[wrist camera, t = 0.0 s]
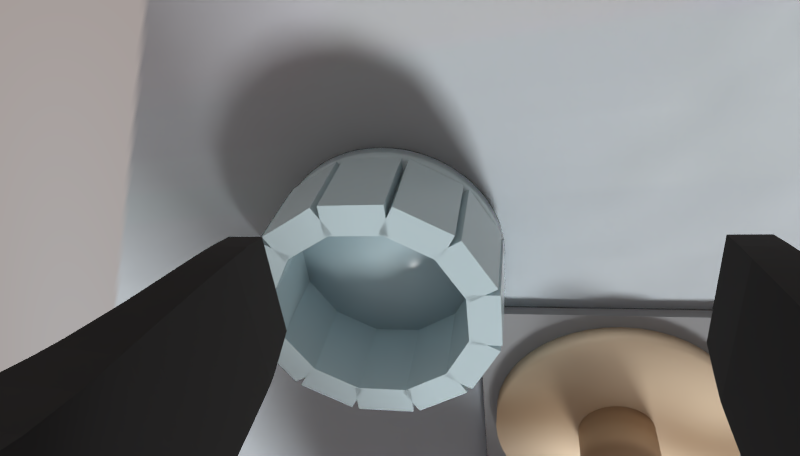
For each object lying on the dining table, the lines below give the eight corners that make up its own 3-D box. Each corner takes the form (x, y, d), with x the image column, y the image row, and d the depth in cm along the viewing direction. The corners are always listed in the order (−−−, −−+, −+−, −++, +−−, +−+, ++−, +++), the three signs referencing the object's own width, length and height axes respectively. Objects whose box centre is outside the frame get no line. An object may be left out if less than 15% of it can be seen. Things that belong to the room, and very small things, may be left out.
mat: (730, 498, 26) (733, 507, 26) (489, 481, 28) (489, 488, 28) (777, 311, 21) (781, 318, 21) (479, 306, 23) (478, 313, 23)
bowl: (507, 338, 24) (505, 416, 20) (306, 333, 25) (275, 404, 22) (501, 143, 19) (497, 202, 16) (262, 151, 21) (215, 207, 18)
